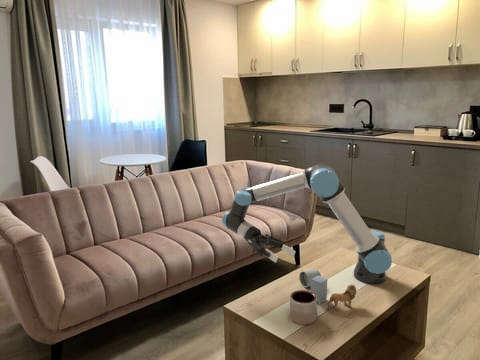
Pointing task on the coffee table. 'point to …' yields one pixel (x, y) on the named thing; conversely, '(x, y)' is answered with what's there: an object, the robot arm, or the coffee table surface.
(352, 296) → the lion figurine
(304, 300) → the planter
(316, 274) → the ceramic mug
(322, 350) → the coffee table surface
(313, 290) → the slate block
